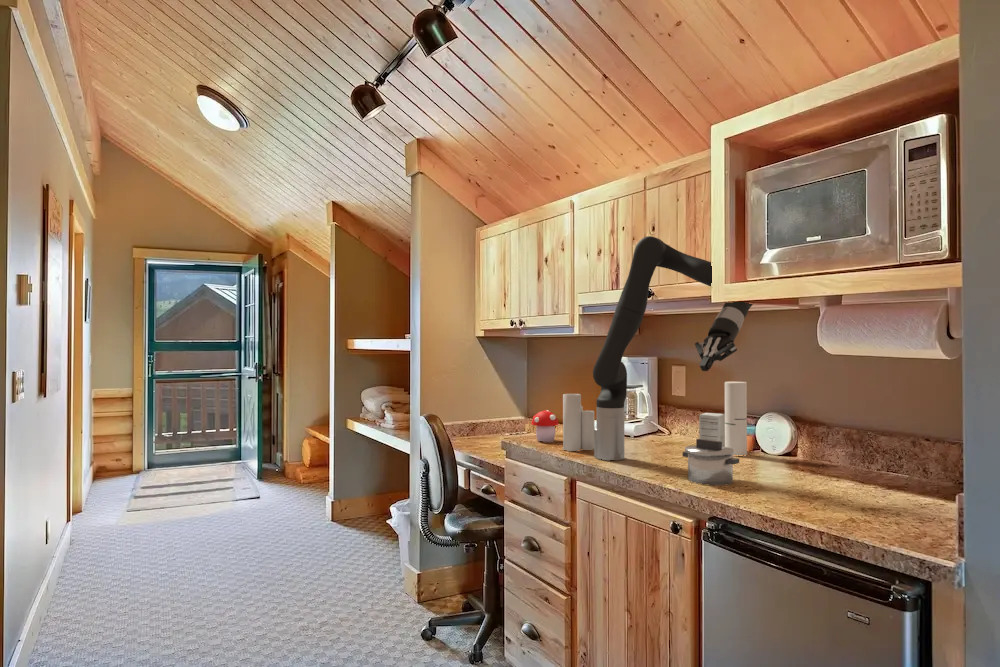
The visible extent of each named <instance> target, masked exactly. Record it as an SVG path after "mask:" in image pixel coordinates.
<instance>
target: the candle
mask: <svg viewBox="0 0 1000 667" xmlns="http://www.w3.org/2000/svg"><path fill="white" fill-rule="evenodd" d="M594 429H596V428H595V411H594V410H584V406H583V405H582V394H580V393H564V394H562V450H563V451H564V450H567V451H566V452H571V451H576V452H579V451H578V450H581V449H583V450H593V449H594ZM583 450H581V451H583ZM593 451H594V450H593Z"/></svg>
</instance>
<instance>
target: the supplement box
mask: <svg viewBox="0 0 1000 667" xmlns="http://www.w3.org/2000/svg"><path fill="white" fill-rule="evenodd" d="M698 417H699V418H698V420H699V422H698V424H699V425H698V426H699V431H698V432H699V434H698V435H699V437H698V439H706V440H714V441H721V442H722V447H725V413H717V412H716V413H715V412H704V413H700V414H699V415H698Z"/></svg>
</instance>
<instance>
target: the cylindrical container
mask: <svg viewBox="0 0 1000 667" xmlns="http://www.w3.org/2000/svg"><path fill="white" fill-rule="evenodd" d="M747 384H748V383H747V381H725V382H724V414H725V447H728V448H731V449H733V455H738V456H739V455H747V456H748V415H747V414H748V409H747V408H748V406H747V405H748V404H747V402H748V400H747V399H748V394H747V393H748V392H747V391H748V390H747V388H748V387H747V386H748V385H747Z"/></svg>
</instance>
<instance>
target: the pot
mask: <svg viewBox="0 0 1000 667" xmlns="http://www.w3.org/2000/svg"><path fill="white" fill-rule="evenodd" d="M682 457H685V458H687V480H688V479H689V480H690V481H689V480H688V481H689V482H691V481H692V482H691V483H694V482H696V483H695V484H698V483H702V484H701V485H704V484H709V485H708V486H726V485H725V484H728V485H731V484H733V483H734V480H733V479H734V473H733V472H734V468H733V465H737V464H740V458H739V457H738V458H737V457H734V456H733V455H731V456H722V457H710V456H698V455H692V454H688V453H686V452H685V451H683V452H682ZM732 482H733V483H732ZM730 483H731V484H730Z"/></svg>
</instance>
